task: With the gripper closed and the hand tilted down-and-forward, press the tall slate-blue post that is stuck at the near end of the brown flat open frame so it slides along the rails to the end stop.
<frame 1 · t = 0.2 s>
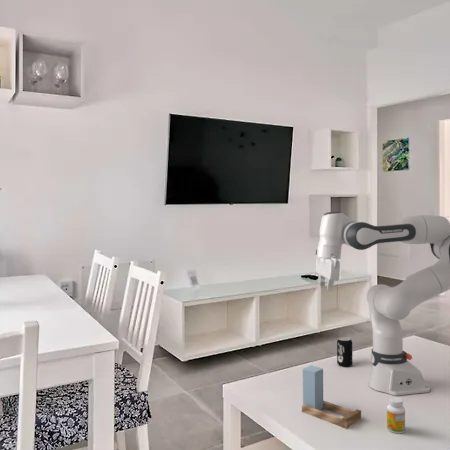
hand: (325, 288, 182), 39 cm above the table, tool pointing down, fingers open, 8 cm apart
block: (313, 388, 164), point 7 cm above the table, slide at 0.0 cm
brown flat open frame: (329, 414, 160), on the table
beverage can: (344, 365, 209), on the table
supplement bottle: (395, 430, 149), on the table
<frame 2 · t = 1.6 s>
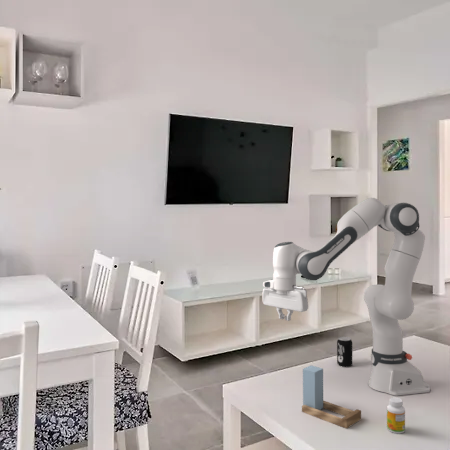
hand: (284, 319, 182), 27 cm above the table, tool pointing down, fingers closed
nothing on the table moved.
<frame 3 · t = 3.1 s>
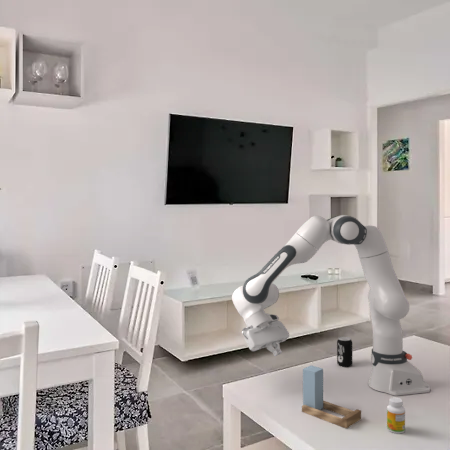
hand: (278, 354, 175), 16 cm above the table, tool tilted 45°, fingers closed
nothing on the table moved.
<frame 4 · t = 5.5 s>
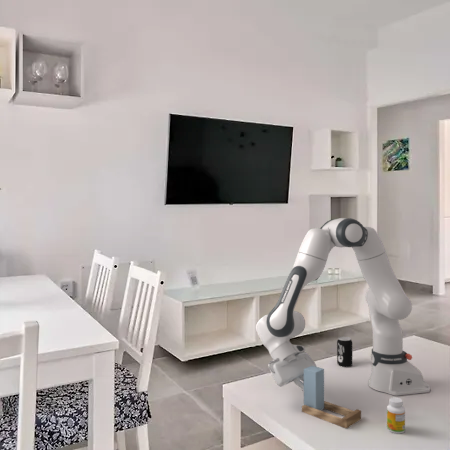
hand: (306, 389, 166), 6 cm above the table, tool tilted 45°, fingers closed, pressing on block
block: (313, 388, 164), point 7 cm above the table, slide at 0.4 cm, touching gripper
everything else where it was.
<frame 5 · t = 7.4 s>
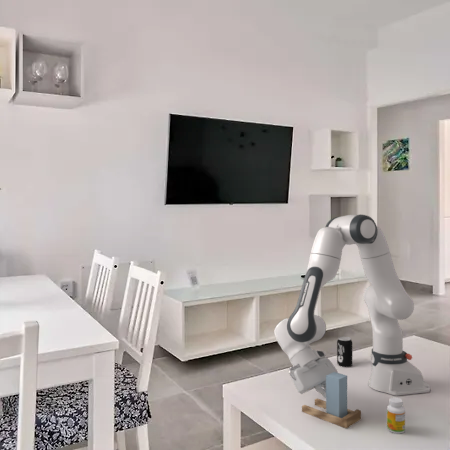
hand: (328, 396, 160), 6 cm above the table, tool tilted 45°, fingers closed, pressing on block
block: (336, 396, 157), point 7 cm above the table, slide at 9.5 cm, touching gripper
everything else where it was.
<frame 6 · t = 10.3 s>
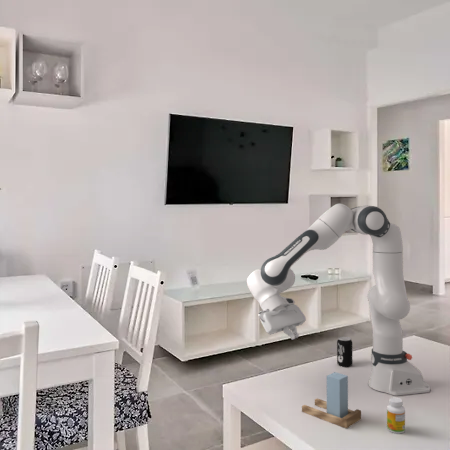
hand: (295, 337, 172), 23 cm above the table, tool tilted 45°, fingers closed
block: (337, 396, 157), point 7 cm above the table, slide at 9.8 cm
everything else where it was.
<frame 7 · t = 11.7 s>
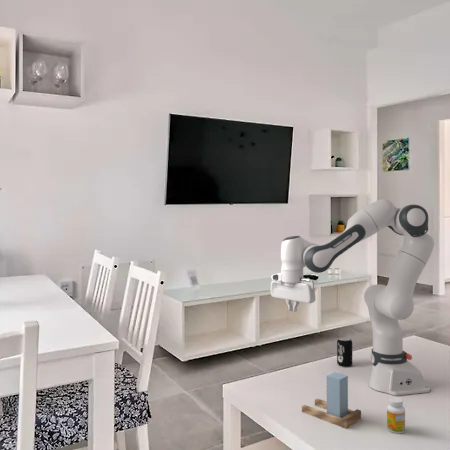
hand: (292, 311, 188), 29 cm above the table, tool pointing down, fingers closed
nothing on the table moved.
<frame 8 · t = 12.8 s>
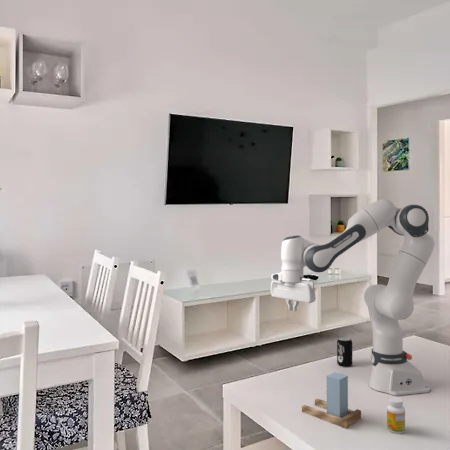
hand: (292, 310, 188), 29 cm above the table, tool pointing down, fingers closed
nothing on the table moved.
at the end: block slide at 9.8 cm; the gripper is holding nothing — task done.
